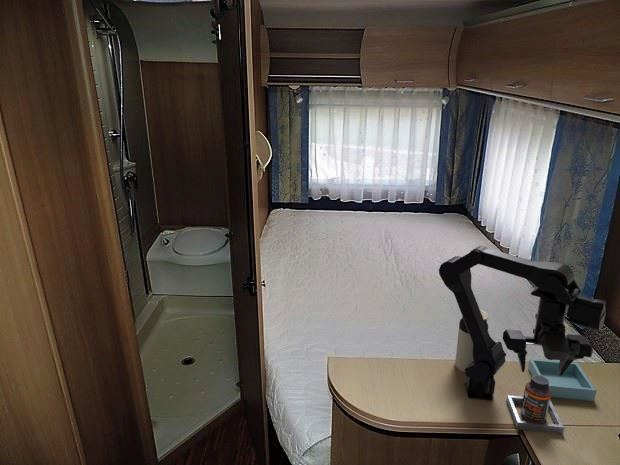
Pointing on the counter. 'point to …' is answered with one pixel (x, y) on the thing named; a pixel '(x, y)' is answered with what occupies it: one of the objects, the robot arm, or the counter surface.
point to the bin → (564, 380)
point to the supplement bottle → (536, 399)
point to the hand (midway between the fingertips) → (541, 373)
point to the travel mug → (466, 344)
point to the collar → (534, 426)
